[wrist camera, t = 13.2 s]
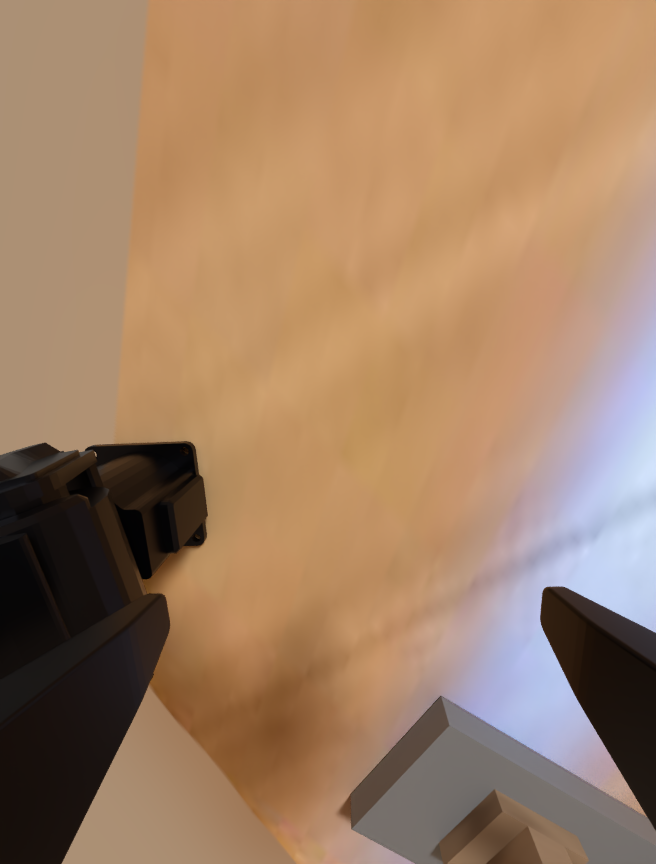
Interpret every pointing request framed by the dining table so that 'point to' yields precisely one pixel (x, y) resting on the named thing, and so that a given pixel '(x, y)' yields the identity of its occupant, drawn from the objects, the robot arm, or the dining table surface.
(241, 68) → the dining table surface
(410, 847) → the grey l-shaped bracket
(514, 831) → the brown upright panelled block
